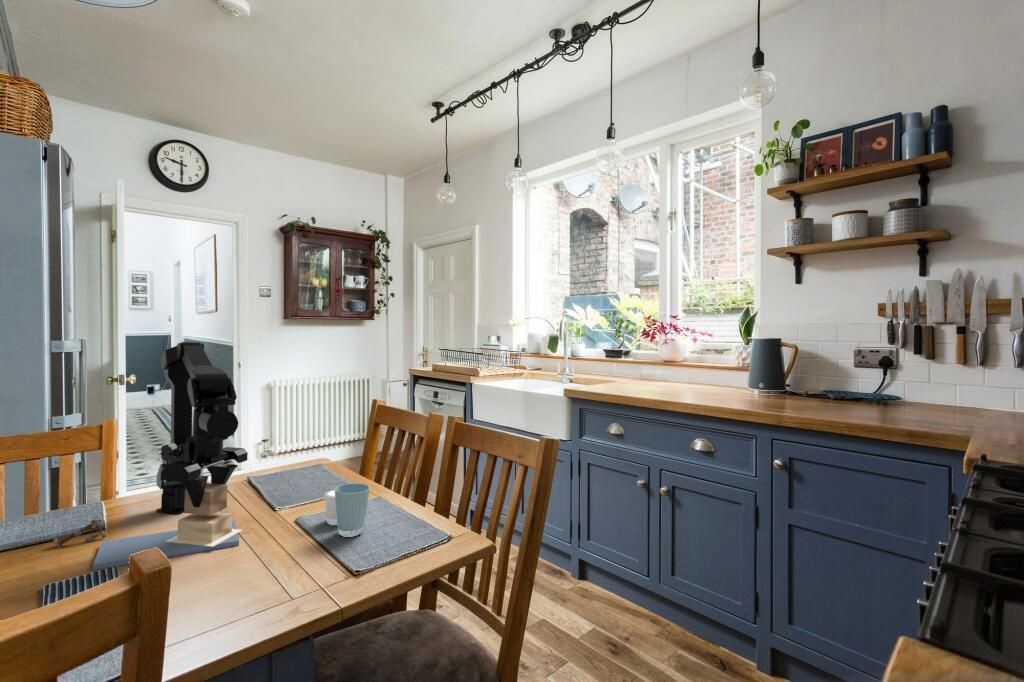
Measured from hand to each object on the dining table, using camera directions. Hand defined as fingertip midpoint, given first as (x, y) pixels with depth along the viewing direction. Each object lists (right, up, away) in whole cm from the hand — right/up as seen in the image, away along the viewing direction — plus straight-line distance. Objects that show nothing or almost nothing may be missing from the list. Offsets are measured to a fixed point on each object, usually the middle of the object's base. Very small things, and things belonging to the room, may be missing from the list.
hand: (206, 503), depth 108 cm
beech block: (0, -7, 0) cm, 7 cm away
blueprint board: (-5, -8, -3) cm, 10 cm away
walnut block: (0, -2, 0) cm, 2 cm away
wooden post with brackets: (-24, -8, -3) cm, 26 cm away
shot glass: (+24, -9, +14) cm, 29 cm away
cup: (+29, -9, +7) cm, 31 cm away
